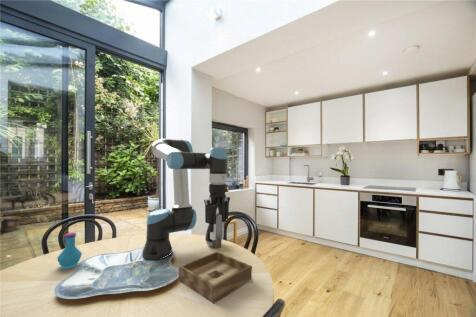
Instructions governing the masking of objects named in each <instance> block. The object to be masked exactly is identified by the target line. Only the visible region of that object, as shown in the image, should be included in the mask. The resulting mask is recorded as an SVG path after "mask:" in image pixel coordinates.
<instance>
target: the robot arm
mask: <svg viewBox="0 0 476 317" xmlns="http://www.w3.org/2000/svg"><path fill="white" fill-rule="evenodd" d="M150 152H151V154H152V155H153V157H156V159H160V160H161V159H162V160H164V161H165V162H166V165H167V167H168V169H171V170H172V176H173V180H172V181H173V206H172V207H171V211H170V209H169V208H162V209H156V210H153V211H151V212H149V213H148V214H147V216H146V241H145V243H144V244H145V245H144V246H143V249H142V254H141V256H142V258H143V259H144V260H149V261H156V259H159V260H161V259H160V258H163V257H165V256H167V255H169V254H170V253H171V252H172V253H173V247H172V244H171V240H170V234H173V233H178V232H184V231H185V232H186V231H189V230H192V229H194V227H195V225H196V223H197V220H198V219H197V212H196V209H195V208H193V205H191V204H190V193H189V192H190V191H189V188H190V187H189V173H188V171H189V170H209V174H208V175H209V176H208V177H209V178H208V180H209V181H208V182H209V183H210V184H209V185H208V186H209V187H208V192H209V197H208V198H207V199H203V202H204V209H205V210H204V220H205V221H204V222H205V223H206V224H208V225H209V232H210V239H212V240H216V224H214V223H215V217H216V213H217V209H218V213H221V214H222V239H223V238H224V235H225V234H224V232H225V231H224V229H225V225H226V224H225V223H226V222H227V221H228V220H229V210H230V209H229V208H230V200H231V197H230V196H226V193H227V187H228V186H227V180H228V179H227V178H228V177H227V176H228V175H227V173H228V150H227V149H226V148H225V147H210V149H209V152H194V149H193V146H192V144H191V142H190V141H189V140H184V139H173V138H160V139H157V140H155V141H154V142H153V143H152V145H151V148H150ZM163 259H164V258H163Z"/></svg>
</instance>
